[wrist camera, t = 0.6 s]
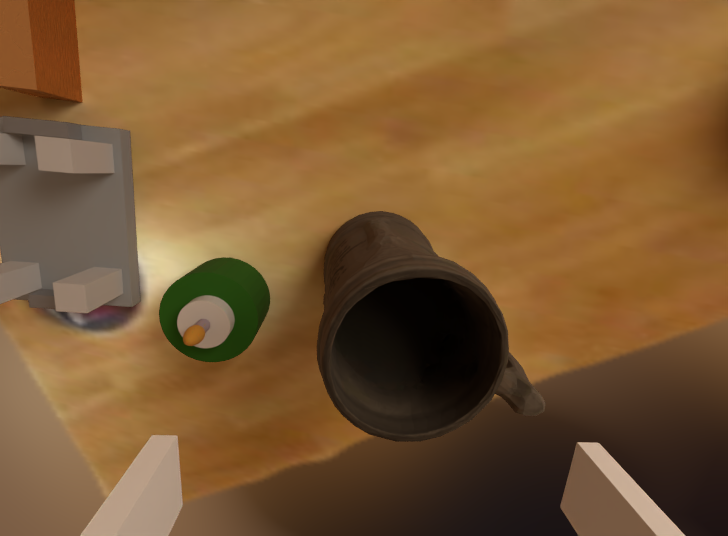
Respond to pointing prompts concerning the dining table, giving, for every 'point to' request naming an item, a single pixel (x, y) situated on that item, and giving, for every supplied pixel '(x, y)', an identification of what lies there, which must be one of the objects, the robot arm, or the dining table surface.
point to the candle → (215, 309)
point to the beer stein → (411, 335)
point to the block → (40, 48)
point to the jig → (67, 216)
